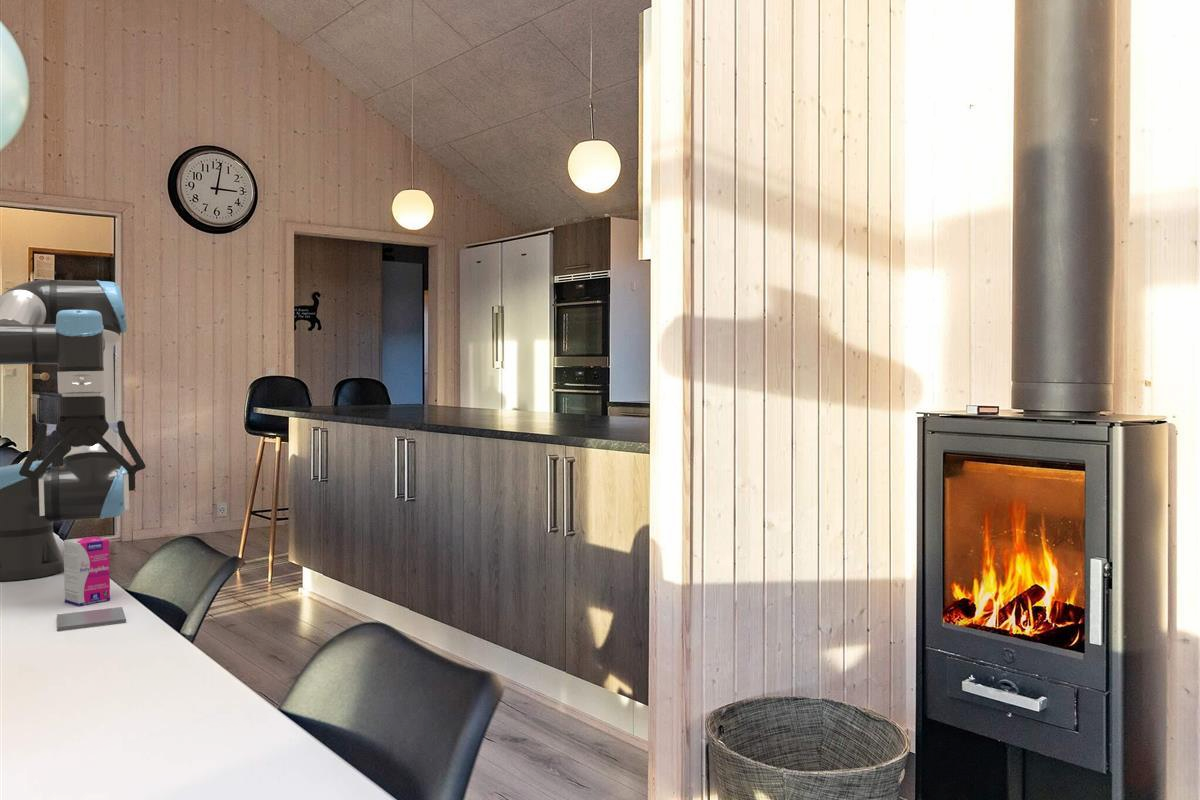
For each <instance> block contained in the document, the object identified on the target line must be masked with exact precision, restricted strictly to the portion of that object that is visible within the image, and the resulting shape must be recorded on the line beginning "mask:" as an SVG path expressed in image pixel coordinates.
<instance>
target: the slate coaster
mask: <svg viewBox="0 0 1200 800" xmlns="http://www.w3.org/2000/svg"><path fill="white" fill-rule="evenodd" d="M125 623H127V618H126V615H125V612H124V608H123V606H118V607H111V608H109V607H108V608H101V609H100V608H99V609H94V610H84V611H75V612H67V613H58V614H56V624H57V625H56V626H57V628H56V629H57V630H56V631H57V632H61V631H69V630H76V629H78V630H79V629H85V628H94V627H101V626H109V625H117V624H125Z"/></svg>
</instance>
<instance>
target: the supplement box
mask: <svg viewBox="0 0 1200 800" xmlns="http://www.w3.org/2000/svg"><path fill="white" fill-rule="evenodd" d="M110 549H111V548H110V539H108V538H103V537H99V536H93V535H92V536H86V537H80V538H79V537H77V538H72V539H71V538H70V539H64V540H63V561H64V570H63V571H64V572H63V580H64V581H63V582H64V584H63V585H64V590H63V591H64V592H63V593H64V595H63V596H64V603H65V604H70V605H72V606H76V607H81V606H85V605H90V604H91V605H92V604H96V603H102V602H109V601H111V587H110V586H111V577H110V576H111V575H110V574H111V573H110V571H111V569H110V566H111V565H110V562H111V561H110V559H111V558H110Z"/></svg>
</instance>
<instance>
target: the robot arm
mask: <svg viewBox="0 0 1200 800" xmlns="http://www.w3.org/2000/svg"><path fill="white" fill-rule="evenodd" d="M122 294H123V293H122V290H121V287H120V285H119V284H118V283H116V282H113V281H106V280H105V281H104V280H103V281H102V280H98V279H95V280H82V279H81V280H79V279H78V280H75V279H74V280H72V279H64V280H63V279H48V278H47V279H35V280H32V281H27V282H23V283H21V284H18V285H16V286H13V287H11V288H9V289H7V290H6V291H5V292H3V293H1V295H0V365H57V374H56V375H57V393H58V394H60V395H61V396H59V397H58V400H57V401H58V406H57V407H58V421H57V424H51V423H46V422H42V423H40V424H39V428H38V435H37V437H36V439H35V440H34V443H33V445H32V447H31V448H30V451H29V452H28V454H27V456H26V458H25V460H24V462H21V463H14V464H11V465H10V464H8V465H5V466H0V582H5V581H6V582H7V581H21V580H29V579H36V578H42V577H48V576H51V575H56V574H58V573H61V572H63V571H64V556H63V555H62V553H61V550H60V547H59V545H58V543H57V541H56V538H55V535H54V522H67V521H79V520H80V521H83V520H97V519H99V520H104V519H108V518H116V517H120V516H122V515H123V514H124V513H126V511H127V510H130V491H131V492H133V491H135V489H136V473H137V472H139V471H142V470H145V469H146V464H145V462H144V460H143V458H142V457H141V455H140V454H139V452H138V450H137V449H136V447H135V445H134V444H133V441H132V440H131V439H130V437H129V435H128V433H127V430H126V424H125V421H123V420H121V419H119V420H118V421H116V420H115V419H116V411H115V409H116V408H115V381H114V380H115V375H114V374H115V372H114V371H115V370H114V369H115V366H114V346H116V345H117V344H118V343H119V342H120V341H121V334H124V333H126V332H128V325H127V318H126V311H125V304H124V299H123V295H122ZM54 431H56V432H57V433H58V434H59V436H60V437H61V438H62V439H61V440H60V441H59V442H58V443H57V444H56V446H55V447H54V448H53V449H52V450H51V451H50V452H49V453H48V454H47V455H46V456H45V457H44V459H43V460H35V459H36V457H37V455H38V453H40V452H39V451H40V449H41V448H42V446H43V444H44V443H45V440H46V438H47V437H48V436H50V435H52V434H53V432H54ZM116 434H118V436H119V438H120V439H121V441H122V443H123V444H124V446H125V448H126V450H127V451H128V453H129V455H130V456H131V458H132V459H133V461H134V464H131V463H130V462H129V461H128V460H127V459H126V458H124V453H122V452H120V451H119V450H118V449H117V447H116ZM68 445H69V446H70V450H69V451H68V452H67V453H66V454H65V455H64V456H63V464H62V465H60V466H53V462H54V461H55V459H57V457H58V456H59V455H60V454H61V453H62V452H63V451H64V450H65V448H66V447H68Z"/></svg>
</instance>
